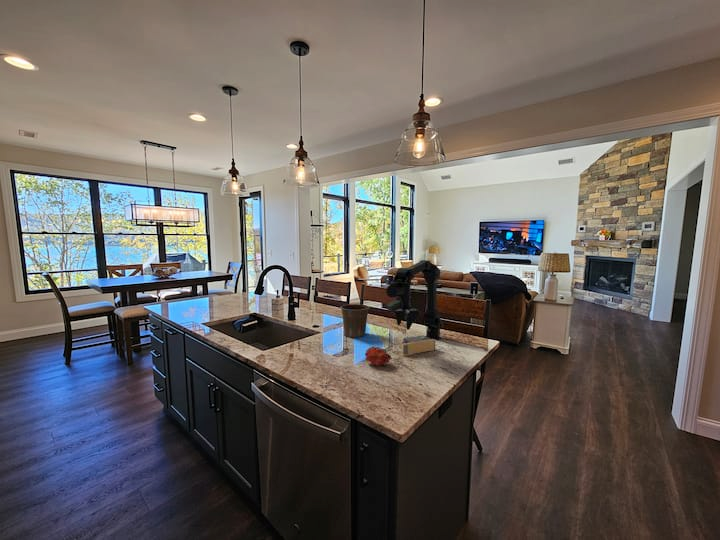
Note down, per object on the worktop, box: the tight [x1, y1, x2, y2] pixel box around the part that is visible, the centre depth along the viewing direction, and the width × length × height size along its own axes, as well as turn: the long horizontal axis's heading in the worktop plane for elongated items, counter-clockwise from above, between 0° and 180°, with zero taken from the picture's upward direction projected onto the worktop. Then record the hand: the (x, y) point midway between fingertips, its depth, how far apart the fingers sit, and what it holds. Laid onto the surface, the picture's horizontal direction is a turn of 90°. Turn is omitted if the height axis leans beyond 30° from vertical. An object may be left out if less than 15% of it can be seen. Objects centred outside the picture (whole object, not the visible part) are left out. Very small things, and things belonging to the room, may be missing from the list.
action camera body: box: [401, 334, 431, 345], centre depth 146 cm, size 13×8×6 cm, turn 114°
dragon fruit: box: [364, 345, 393, 368], centre depth 127 cm, size 8×8×12 cm
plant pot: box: [340, 303, 370, 338], centre depth 168 cm, size 16×16×16 cm
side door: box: [401, 339, 436, 356], centre depth 141 cm, size 18×1×5 cm, turn 114°
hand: (403, 327), depth 141 cm, fingers open, 8 cm apart
